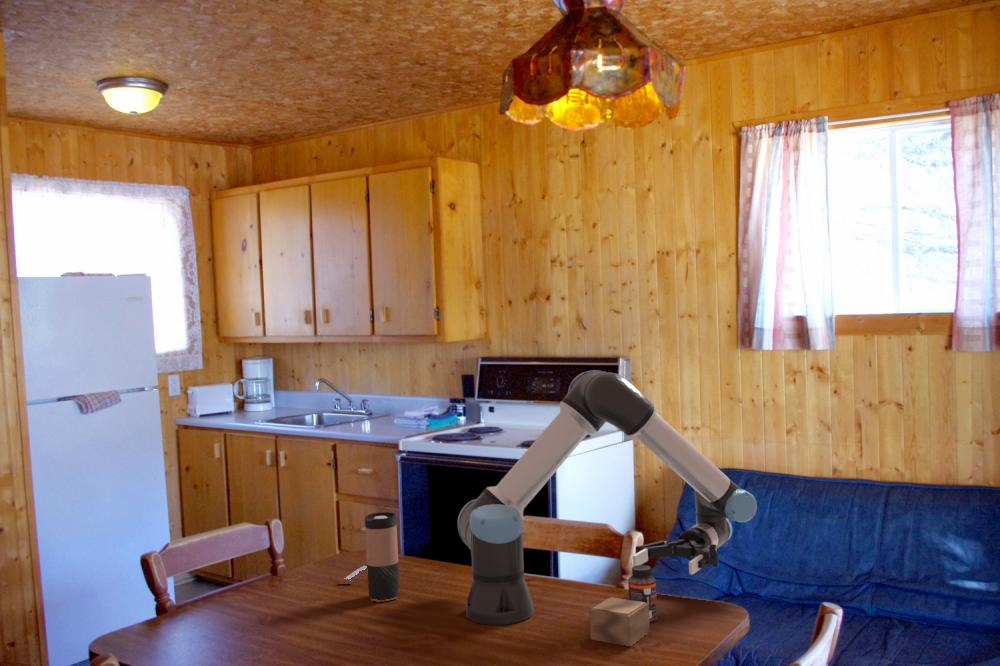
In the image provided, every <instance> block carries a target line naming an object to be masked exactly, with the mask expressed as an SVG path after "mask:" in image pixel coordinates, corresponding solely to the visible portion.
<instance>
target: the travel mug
mask: <svg viewBox="0 0 1000 666" xmlns="http://www.w3.org/2000/svg"><path fill="white" fill-rule="evenodd" d="M364 529H365V555H366V556H365V558H366V559H365V560H366V564H367V575H366V576H367V585H368V598H369V597H370V598H372V599H377V600H385V599H391V598H394V597H397V596H398V595H400V586H399V585H400V584H399V583H400V580H399V579H400V577H399V576H400V575H399V574H400V572H399V569H400V568H399V549H398V548H399V546H398V531H397V530H398V527H397V514H396V513H394V512H386V511H385V512H384V511H382V512H373V513H369V514H366V515H365V516H364Z"/></svg>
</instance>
